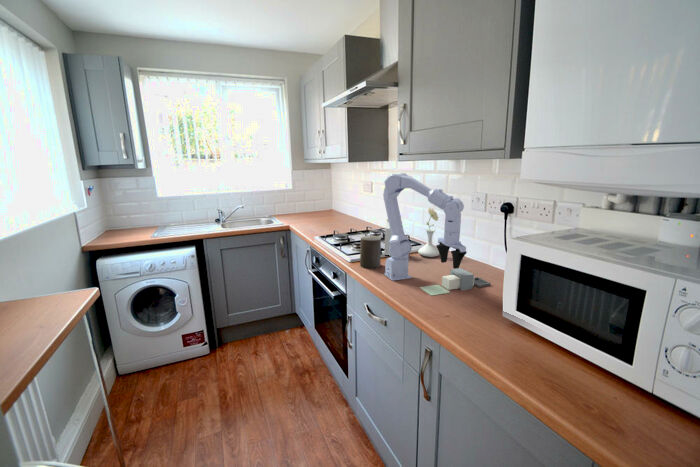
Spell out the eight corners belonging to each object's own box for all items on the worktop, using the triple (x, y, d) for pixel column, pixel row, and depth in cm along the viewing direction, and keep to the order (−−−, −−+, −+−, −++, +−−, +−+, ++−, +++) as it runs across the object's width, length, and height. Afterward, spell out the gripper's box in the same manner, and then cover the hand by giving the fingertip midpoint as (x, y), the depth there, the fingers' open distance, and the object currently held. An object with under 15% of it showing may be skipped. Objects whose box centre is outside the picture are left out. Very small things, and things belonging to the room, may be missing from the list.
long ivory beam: (448, 289, 123) (449, 280, 122) (441, 285, 127) (442, 276, 126) (473, 285, 127) (474, 276, 126) (466, 281, 131) (466, 272, 130)
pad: (431, 295, 119) (431, 295, 119) (419, 287, 126) (419, 287, 126) (450, 292, 122) (450, 292, 121) (438, 284, 129) (438, 284, 129)
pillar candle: (367, 270, 146) (368, 238, 143) (356, 264, 155) (356, 234, 151) (384, 266, 151) (385, 236, 148) (372, 261, 159) (373, 232, 156)
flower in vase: (441, 258, 162) (445, 210, 157) (419, 258, 164) (421, 210, 158) (437, 251, 175) (440, 206, 169) (416, 251, 176) (418, 206, 170)
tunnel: (462, 290, 123) (463, 276, 122) (449, 283, 131) (450, 269, 129) (472, 288, 125) (473, 274, 124) (459, 281, 132) (460, 268, 131)
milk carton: (397, 257, 165) (398, 221, 161) (384, 255, 168) (385, 220, 163) (400, 253, 172) (401, 219, 168) (387, 252, 174) (388, 218, 170)
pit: (477, 287, 126) (478, 285, 126) (465, 281, 133) (465, 278, 133) (490, 285, 128) (490, 283, 128) (477, 279, 135) (477, 277, 135)
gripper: (473, 234, 115) (470, 269, 119) (448, 226, 129) (446, 258, 132) (457, 235, 113) (455, 272, 116) (434, 228, 126) (432, 260, 129)
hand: (449, 265), depth 124 cm, fingers open, 7 cm apart
